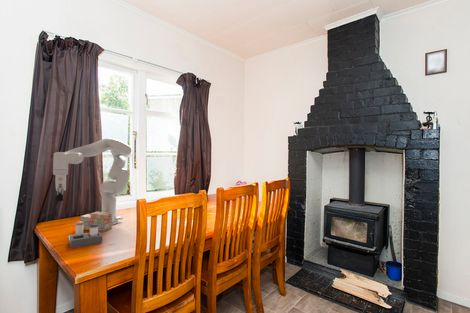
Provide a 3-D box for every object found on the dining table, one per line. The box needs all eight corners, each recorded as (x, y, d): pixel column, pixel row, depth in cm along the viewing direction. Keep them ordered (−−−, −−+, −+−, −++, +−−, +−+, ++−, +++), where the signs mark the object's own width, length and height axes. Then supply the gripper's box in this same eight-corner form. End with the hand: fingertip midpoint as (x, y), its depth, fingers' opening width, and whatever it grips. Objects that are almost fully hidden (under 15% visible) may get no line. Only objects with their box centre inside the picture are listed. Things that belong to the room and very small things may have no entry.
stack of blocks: (79, 229, 170) (80, 211, 170) (88, 227, 176) (88, 209, 176) (104, 233, 163) (104, 215, 163) (111, 231, 169) (112, 213, 169)
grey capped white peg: (97, 239, 147) (97, 223, 147) (98, 242, 143) (98, 224, 143) (88, 241, 144) (89, 224, 144) (89, 243, 141) (90, 226, 141)
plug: (83, 236, 154) (83, 220, 154) (84, 239, 150) (84, 222, 150) (74, 238, 151) (75, 221, 151) (75, 240, 148) (75, 223, 148)
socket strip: (99, 240, 150) (99, 231, 150) (102, 245, 143) (102, 235, 143) (69, 245, 141) (69, 235, 141) (70, 250, 134) (71, 240, 133)
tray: (88, 235, 158) (88, 232, 158) (90, 240, 151) (90, 236, 151) (68, 238, 151) (68, 235, 151) (69, 243, 144) (69, 240, 144)
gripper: (68, 173, 148) (67, 201, 148) (67, 171, 163) (67, 197, 163) (52, 173, 144) (51, 202, 144) (53, 171, 158) (52, 197, 158)
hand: (59, 199), depth 153 cm, fingers open, 9 cm apart
